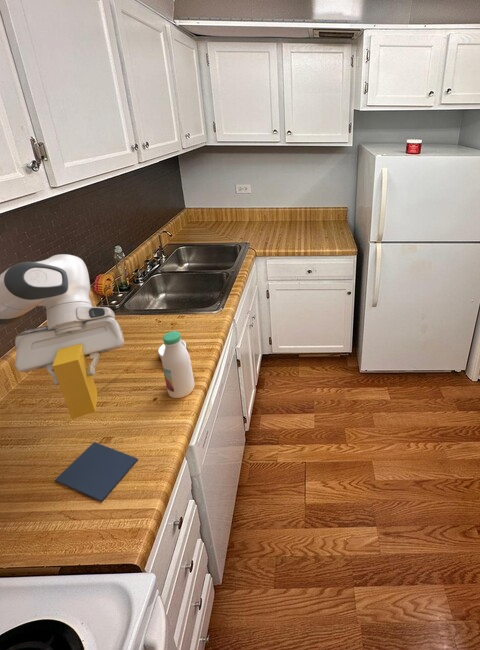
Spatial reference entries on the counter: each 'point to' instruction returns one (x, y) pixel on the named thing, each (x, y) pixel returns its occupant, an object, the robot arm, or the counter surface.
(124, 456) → the mat
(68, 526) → the counter surface
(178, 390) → the milk bottle
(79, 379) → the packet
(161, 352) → the ramekin
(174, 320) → the counter surface
